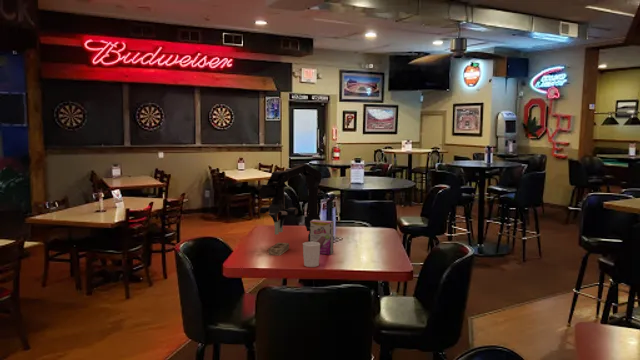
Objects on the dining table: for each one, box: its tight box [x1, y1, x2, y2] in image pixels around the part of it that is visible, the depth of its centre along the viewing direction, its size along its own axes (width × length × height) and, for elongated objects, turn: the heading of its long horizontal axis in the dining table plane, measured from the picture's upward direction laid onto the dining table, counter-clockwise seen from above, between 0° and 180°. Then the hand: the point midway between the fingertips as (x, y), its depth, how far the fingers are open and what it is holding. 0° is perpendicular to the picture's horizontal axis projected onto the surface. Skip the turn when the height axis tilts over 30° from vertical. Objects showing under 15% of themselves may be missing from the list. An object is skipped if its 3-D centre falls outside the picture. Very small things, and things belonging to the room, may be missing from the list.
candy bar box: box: [309, 219, 335, 256], centre depth 241 cm, size 11×5×16 cm, turn 71°
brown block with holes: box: [267, 242, 290, 256], centre depth 244 cm, size 6×14×3 cm, turn 165°
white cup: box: [302, 241, 321, 268], centre depth 220 cm, size 8×8×10 cm
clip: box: [273, 219, 284, 235], centre depth 243 cm, size 2×8×6 cm, turn 165°
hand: (278, 227), depth 243 cm, fingers closed on clip, 2 cm apart
